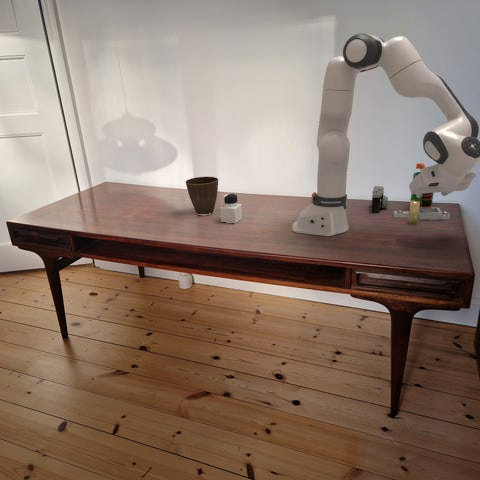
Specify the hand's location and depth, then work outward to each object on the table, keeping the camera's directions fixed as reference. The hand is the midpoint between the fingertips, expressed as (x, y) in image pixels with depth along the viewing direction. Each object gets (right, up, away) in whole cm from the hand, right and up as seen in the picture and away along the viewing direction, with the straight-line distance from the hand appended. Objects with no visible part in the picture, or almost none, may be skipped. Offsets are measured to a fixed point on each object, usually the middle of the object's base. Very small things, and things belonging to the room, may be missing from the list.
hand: (431, 195), depth 155 cm
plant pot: (-87, -4, +43) cm, 97 cm away
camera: (-7, -3, +36) cm, 37 cm away
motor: (+10, -3, +33) cm, 35 cm away
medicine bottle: (-74, -8, +31) cm, 81 cm away
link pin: (0, -10, +16) cm, 19 cm away
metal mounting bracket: (+6, -7, +22) cm, 24 cm away
